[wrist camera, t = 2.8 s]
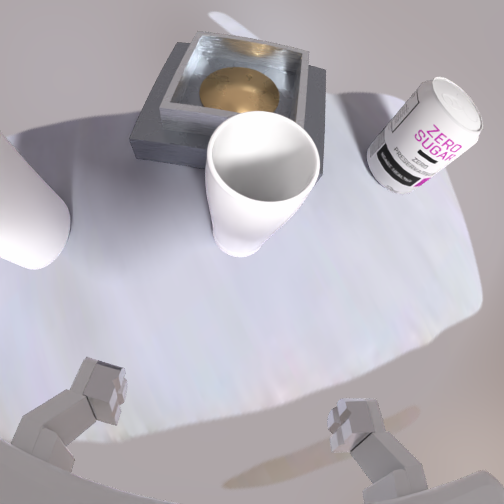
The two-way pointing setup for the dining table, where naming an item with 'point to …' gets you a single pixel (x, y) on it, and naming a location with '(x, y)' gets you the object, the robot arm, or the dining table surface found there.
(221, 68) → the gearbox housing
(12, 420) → the dining table surface
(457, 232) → the dining table surface
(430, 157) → the supplement can
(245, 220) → the drinking glass
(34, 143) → the dining table surface
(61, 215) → the white bottle
